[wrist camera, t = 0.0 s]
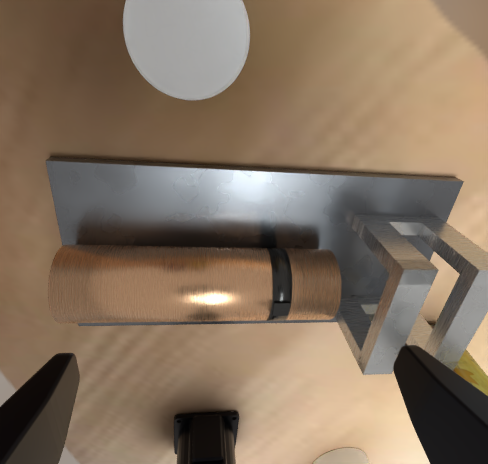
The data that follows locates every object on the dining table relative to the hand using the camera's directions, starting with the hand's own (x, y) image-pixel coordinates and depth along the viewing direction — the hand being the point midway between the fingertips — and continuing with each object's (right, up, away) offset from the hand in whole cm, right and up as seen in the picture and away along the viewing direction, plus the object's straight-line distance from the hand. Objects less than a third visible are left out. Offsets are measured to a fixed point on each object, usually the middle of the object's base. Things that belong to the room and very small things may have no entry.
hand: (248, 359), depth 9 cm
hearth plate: (+1, +2, +16) cm, 16 cm away
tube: (-3, +1, +15) cm, 15 cm away
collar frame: (+11, +1, +17) cm, 20 cm away
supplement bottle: (-3, +14, +9) cm, 17 cm away
